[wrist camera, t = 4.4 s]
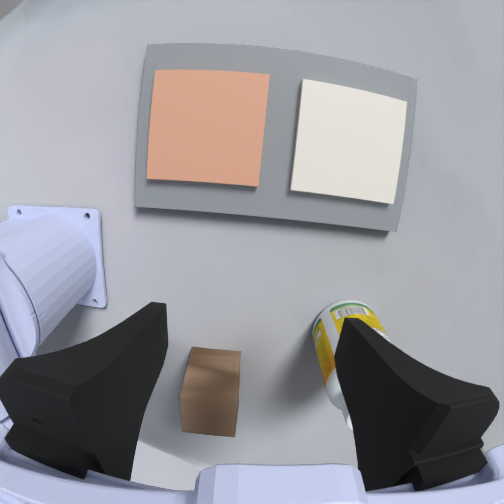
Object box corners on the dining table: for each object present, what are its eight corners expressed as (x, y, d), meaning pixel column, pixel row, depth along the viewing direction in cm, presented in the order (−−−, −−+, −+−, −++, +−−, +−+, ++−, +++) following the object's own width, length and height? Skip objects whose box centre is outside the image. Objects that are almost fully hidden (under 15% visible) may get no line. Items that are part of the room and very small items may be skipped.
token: (192, 381, 27) (182, 431, 21) (192, 346, 25) (179, 397, 20) (237, 385, 27) (234, 437, 21) (240, 351, 25) (238, 403, 20)
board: (139, 203, 21) (131, 208, 20) (151, 48, 17) (144, 42, 16) (391, 228, 22) (400, 234, 20) (410, 81, 18) (421, 78, 17)
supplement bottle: (349, 284, 23) (396, 365, 14) (385, 323, 25) (433, 402, 16) (297, 329, 25) (316, 421, 16) (337, 362, 26) (365, 449, 17)
